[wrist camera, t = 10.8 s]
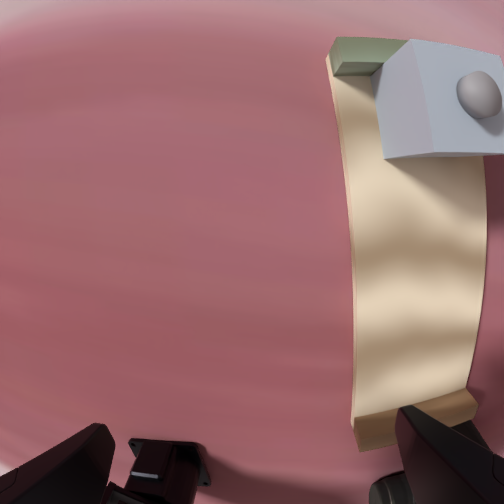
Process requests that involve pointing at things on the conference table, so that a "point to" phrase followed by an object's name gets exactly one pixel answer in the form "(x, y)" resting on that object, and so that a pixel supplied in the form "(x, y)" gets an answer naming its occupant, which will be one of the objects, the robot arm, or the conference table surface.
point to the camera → (397, 487)
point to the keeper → (440, 102)
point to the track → (406, 260)
